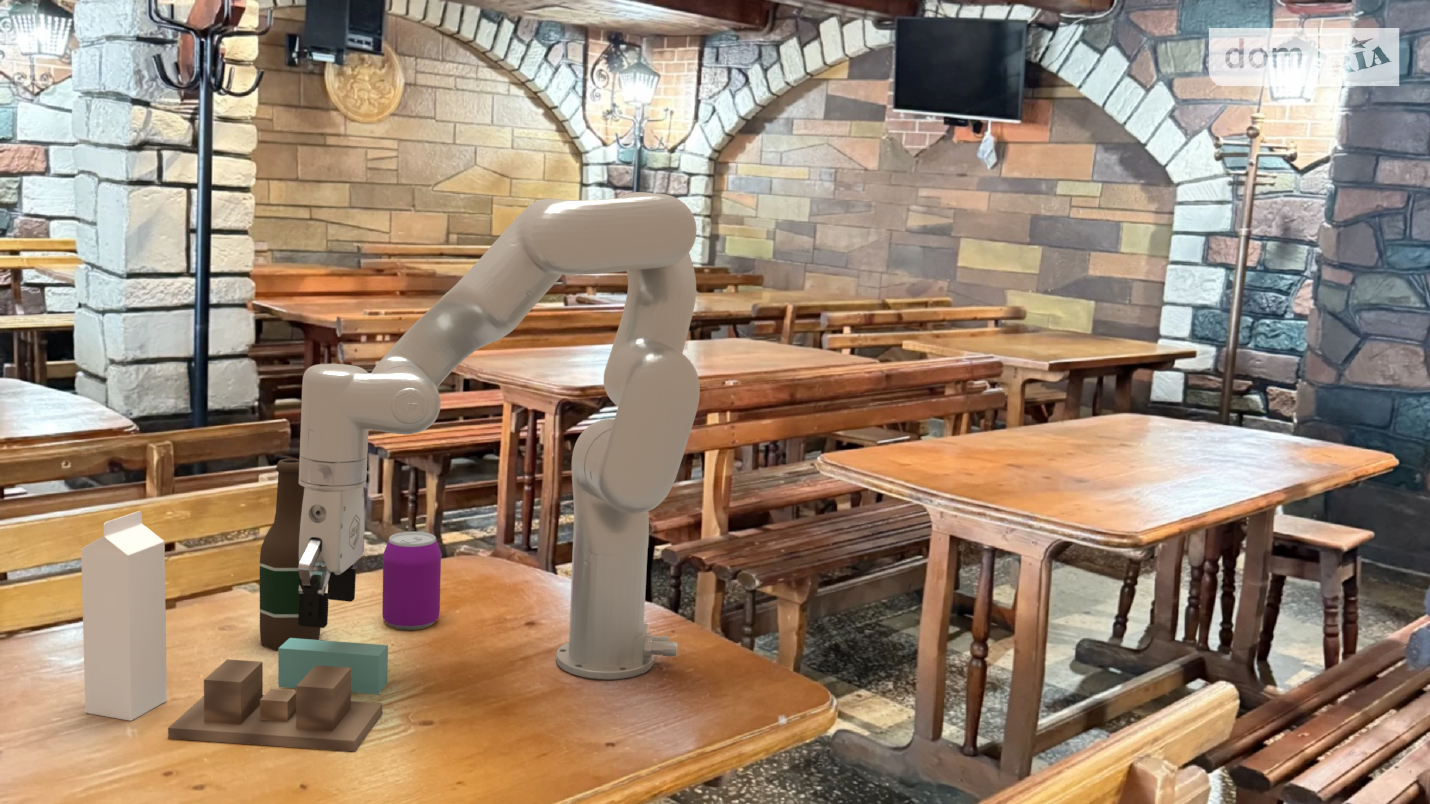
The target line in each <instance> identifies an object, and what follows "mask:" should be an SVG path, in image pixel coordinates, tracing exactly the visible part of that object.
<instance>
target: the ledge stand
mask: <svg viewBox="0 0 1430 804" xmlns="http://www.w3.org/2000/svg"><path fill="white" fill-rule="evenodd" d="M263 663H264V662H263V661H259V660H257V661H256V660H255V661H254V660H245V659H244V660H243V659H241V660H240V659H226V660H225V661H224V662H223V663H221V664H219V666H217V668H215V669H214V670H213V671H212V672H211V673H210V674H208V675H207V676H206V677H205V678H204V679H203V696H202V697H201V698H200V699H199V700H197V701H196V702H195V703H194V704H193V705H192V706H190V708H189V709H187V710H186V711H185V712H184V713H183V714H182V715H181V716H179V717H178V719H176V720H175V721H174V722H173V723H172V724H171V725H170V726H169V727H168V728H167V737H168V739H169V740H170V739H171V740H185V741H196V742H197V741H199V742H213V743H227V744H228V743H229V744H244V745H256V746H257V745H258V746H270V747H283V748H284V747H285V748H300V749H313V750H314V749H315V750H325V751H328V750H329V751H342V752H354V753H355V752H356V750H357V749H358V747H359V746H360V745H361V744H362V742H363V741H364V740H365V738H366V736H368V734H369V733H370V731H371V730H372V728H373V727H375V726H374V725H375V724H377V721H378V720H379V719H380V717H381V716H382V715H383V709H384V708H383V706H384V703H383V702H373V701H372V702H371V701H356V700H352V693H351V668H347V667H332V666H318V665H316V666H315V667H314V668H313V669H312V670H311V671H310V672H309V673H308V674H307V675H306V676H305V677H304V678H303V679H302V681H301V682H300V683H299V684H298V685H297V686H296V688H295V690H290V689H287V690H286V689H276V688H275V689H273V688H270V689H269V690H268V691H267V692H266V693H265V694H263V693H264V692H263V690H264V689H263V688H264V685H263V684H264V683H263V682H264V681H263V680H264V678H263V676H264V675H263V671H264V670H263V669H264V668H263V666H264V665H263Z"/></svg>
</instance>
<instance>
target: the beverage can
mask: <svg viewBox="0 0 1430 804" xmlns="http://www.w3.org/2000/svg"><path fill="white" fill-rule="evenodd" d="M441 561H442V551H441V548H440V545H439V543H438V541H437V537H436V536H435V535H434V534H432V533H430V532H425V531H403V532H402V531H401V532H396V533H394V534H392V535H389V538H388V541H387V544H386V546H385V548H384V551H383V554H382V607H381V608H382V610H381V611H382V612H381V613H382V619H383V620H384V622H386V623H387V624H388V625H389V626H390V627H392V628H394V629H398V630H404V631H406V630H408V631H411V630H412V631H413V630H415V631H416V630H422V629H427V628H428V627H430V626H432V625H433V624H434V623H435V622H436V621H437V620H439V618H440V610H441V574H442V573H441V572H442V571H441V568H442V566H441V565H442V563H441Z"/></svg>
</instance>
